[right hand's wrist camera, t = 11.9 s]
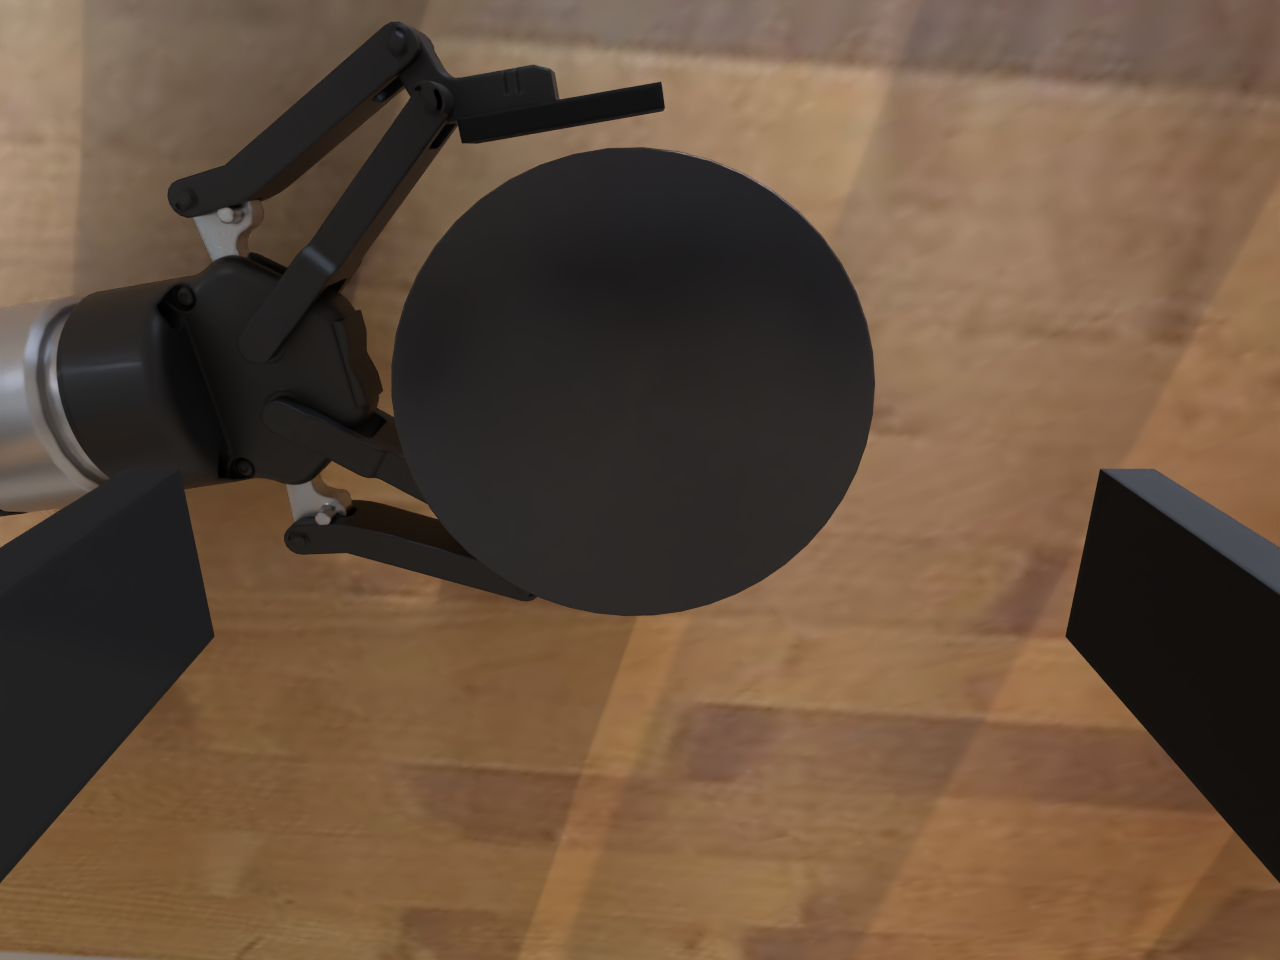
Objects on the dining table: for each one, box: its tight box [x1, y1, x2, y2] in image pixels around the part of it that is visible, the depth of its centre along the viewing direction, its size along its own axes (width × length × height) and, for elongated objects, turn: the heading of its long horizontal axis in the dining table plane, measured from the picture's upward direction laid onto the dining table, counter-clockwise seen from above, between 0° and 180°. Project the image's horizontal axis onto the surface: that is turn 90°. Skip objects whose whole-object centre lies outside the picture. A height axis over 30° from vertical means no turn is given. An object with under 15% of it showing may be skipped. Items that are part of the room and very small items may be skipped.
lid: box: [392, 147, 875, 616], centre depth 20 cm, size 11×11×2 cm
